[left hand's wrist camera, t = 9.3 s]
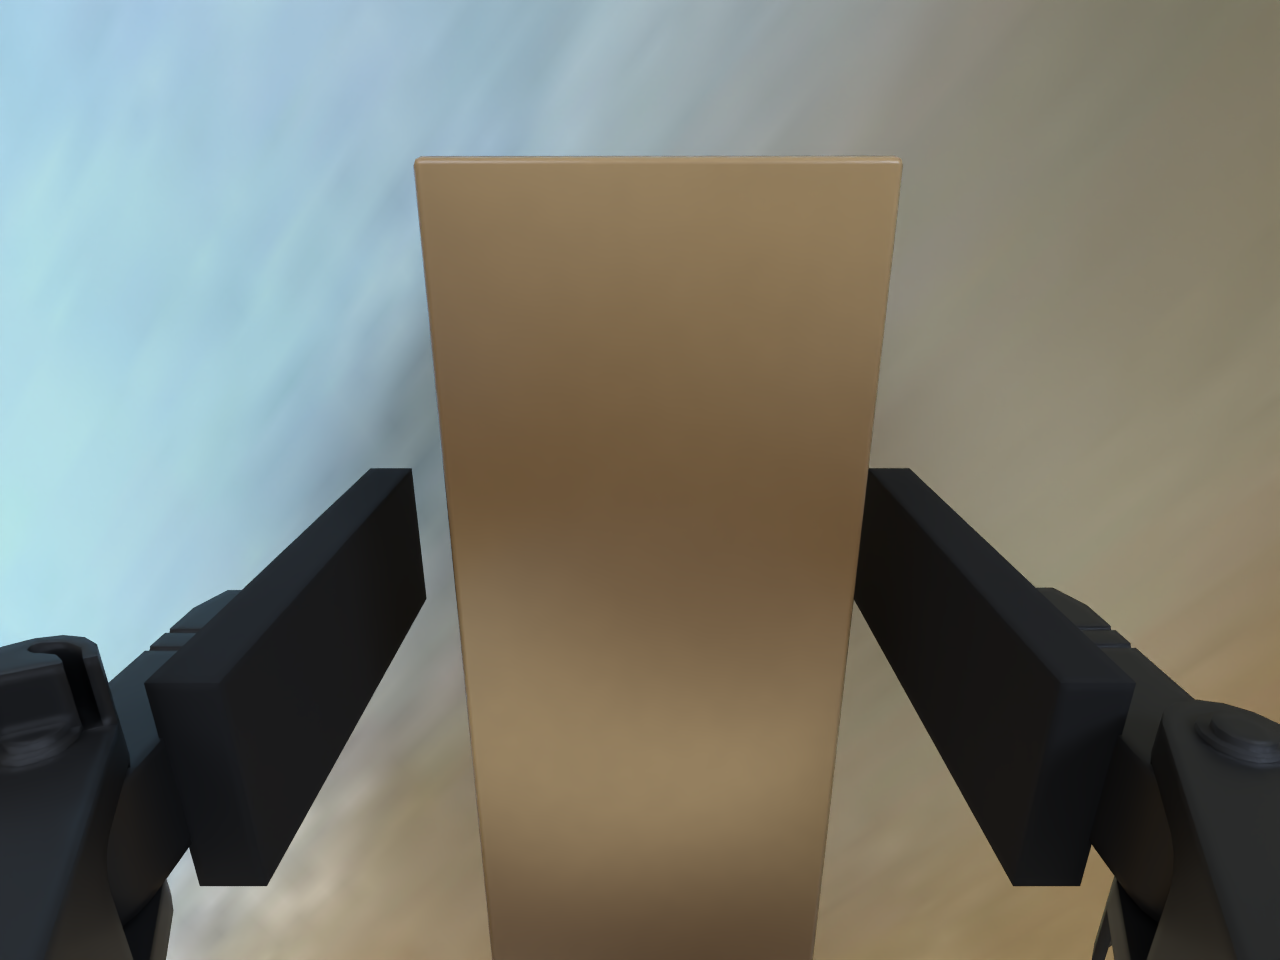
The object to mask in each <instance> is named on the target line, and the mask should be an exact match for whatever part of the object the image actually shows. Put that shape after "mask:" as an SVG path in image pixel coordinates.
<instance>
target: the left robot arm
mask: <svg viewBox="0 0 1280 960" xmlns="http://www.w3.org/2000/svg"><path fill="white" fill-rule="evenodd" d="M425 600H426V590H425V582H424V573H423V564H422V555H421V547H420V538H419V529H418V520H417V511H416V503H415V494H414V485H413V476H412V468H371V469H370V470H369V471H367V472H366V473H365V474H364V475H363V476H362V477H361V478H360V479H359V480H358V481H357V482H356V483H355V484H354V485H353V486H352V487H351V488H349V489H348V490H347V491H346V492H345V493H344V494H343V495H342V496H341V497H340V498H339V499H338V500H337V501H336V502H335V503H334V504H333V505H331V506H330V507H329V508H328V509H327V510H326V511H325V512H324V513H323V514H322V515H321V516H320V517H319V518H318V519H317V520H316V521H315V522H313V523H312V524H311V525H310V526H309V527H308V528H307V529H306V530H305V531H304V532H303V533H302V534H301V535H300V536H299V537H298V538H297V539H295V540H294V541H293V542H292V543H291V544H290V545H289V546H288V547H287V548H286V549H285V550H284V551H283V552H282V553H281V554H280V555H279V556H277V557H276V558H275V559H274V560H273V561H272V562H271V563H270V564H269V565H268V566H267V567H266V568H265V569H264V570H263V571H262V572H261V573H259V574H258V575H257V576H256V577H255V578H254V579H253V580H252V581H251V582H250V583H249V584H248V585H247V586H246V587H245V588H244V589H243V590H227V591H225V592H223V593H221V594H219V595H218V596H216V597H214V598H212V599H210V600H208V601H206V602H204V603H202V604H200V605H198V606H196V607H194V608H193V609H192V610H191V611H190V612H188V613H187V614H186V615H185V616H184V617H183V618H182V619H180V620H179V621H178V622H177V623H176V624H175V625H174V626H173V627H171V628H170V633H165V634H163V635H162V636H161V637H160V638H159V639H158V640H157V641H156V642H154V643H153V644H152V645H151V646H150V651H144V652H143V653H142V654H141V655H140V656H139V657H137V658H136V659H135V660H134V661H133V662H132V663H131V664H129V665H128V666H127V667H126V668H125V669H124V670H123V671H122V672H120V673H119V674H118V675H117V676H116V677H115V678H114V679H112V680H111V681H110V682H109V683H108V680H107V677H106V674H105V670H104V667H103V663H102V660H101V657H100V653H99V650H98V647H97V644H95V643H94V642H92V641H90V640H89V639H87V638H85V637H77V636H67V635H60V636H51V637H43V638H34V639H30V640H27V641H23V642H19V643H15V644H11V645H7V646H3V647H0V960H166V956H167V949H168V942H169V936H170V929H171V923H172V916H173V904H172V897H171V893H170V889H169V886H168V882H167V877H168V876H169V874H170V873H171V872H172V870H173V869H174V867H175V866H176V865H177V863H178V862H179V860H180V859H181V858H182V856H183V855H184V853H185V852H186V851H187V849H188V848H190V852H191V856H192V859H193V863H194V866H195V870H196V874H197V877H198V881H199V884H200V886H267V885H268V883H269V881H270V879H271V878H272V876H273V874H274V872H275V870H276V869H277V867H278V865H279V863H280V861H281V860H282V858H283V856H284V854H285V852H286V851H287V849H288V847H289V845H290V843H291V842H292V840H293V838H294V836H295V834H296V833H297V831H298V829H299V827H300V825H301V824H302V822H303V820H304V818H305V816H306V815H307V813H308V811H309V809H310V807H311V806H312V804H313V802H314V800H315V798H316V797H317V795H318V793H319V791H320V789H321V788H322V786H323V784H324V782H325V780H326V779H327V777H328V775H329V773H330V771H331V770H332V768H333V766H334V764H335V762H336V761H337V759H338V757H339V755H340V753H341V752H342V750H343V748H344V746H345V744H346V743H347V741H348V739H349V737H350V735H351V734H352V732H353V730H354V728H355V726H356V725H357V723H358V721H359V719H360V717H361V716H362V714H363V712H364V710H365V708H366V707H367V705H368V703H369V701H370V699H371V698H372V696H373V694H374V692H375V690H376V689H377V687H378V685H379V683H380V681H381V680H382V678H383V676H384V674H385V672H386V671H387V669H388V667H389V665H390V663H391V662H392V660H393V658H394V656H395V654H396V652H397V651H398V649H399V647H400V645H401V643H402V642H403V640H404V638H405V636H406V634H407V633H408V631H409V629H410V627H411V625H412V624H413V622H414V620H415V618H416V616H417V615H418V613H419V611H420V609H421V607H422V606H423V604H424V602H425ZM854 600H855V602H856V604H857V606H858V608H859V609H860V611H861V613H862V615H863V617H864V618H865V620H866V622H867V624H868V626H869V627H870V629H871V631H872V633H873V635H874V636H875V638H876V640H877V642H878V644H879V645H880V647H881V649H882V651H883V653H884V654H885V656H886V658H887V660H888V662H889V663H890V665H891V667H892V669H893V671H894V672H895V674H896V676H897V678H898V680H899V681H900V683H901V685H902V687H903V689H904V690H905V692H906V694H907V696H908V698H909V699H910V701H911V703H912V705H913V707H914V708H915V710H916V712H917V714H918V716H919V717H920V719H921V721H922V723H923V725H924V726H925V728H926V730H927V732H928V734H929V735H930V737H931V739H932V741H933V743H934V744H935V746H936V748H937V750H938V752H939V753H940V755H941V757H942V759H943V761H944V762H945V764H946V766H947V768H948V770H949V771H950V773H951V775H952V777H953V779H954V780H955V782H956V784H957V786H958V788H959V789H960V791H961V793H962V795H963V797H964V798H965V800H966V802H967V804H968V806H969V807H970V809H971V811H972V813H973V815H974V816H975V818H976V820H977V822H978V824H979V825H980V827H981V829H982V831H983V833H984V834H985V836H986V838H987V840H988V842H989V843H990V845H991V847H992V849H993V851H994V852H995V854H996V856H997V858H998V860H999V861H1000V863H1001V865H1002V867H1003V869H1004V870H1005V872H1006V874H1007V876H1008V878H1009V879H1010V881H1011V883H1012V885H1013V886H1080V884H1081V881H1082V877H1083V874H1084V870H1085V866H1086V863H1087V859H1088V856H1089V852H1090V848H1091V845H1093V847H1094V848H1095V849H1096V851H1097V852H1098V854H1099V855H1100V856H1101V858H1102V859H1103V861H1104V862H1105V863H1106V865H1107V866H1108V868H1109V869H1110V870H1111V872H1112V873H1113V874H1114V879H1113V882H1112V886H1111V889H1110V893H1109V896H1108V899H1107V903H1106V906H1105V909H1104V913H1103V916H1102V920H1101V923H1100V926H1099V930H1098V933H1097V936H1096V940H1095V943H1094V949H1093V955H1092V960H1105V957H1106V954H1107V951H1108V947H1110V946H1112V947H1113V953H1114V960H1280V724H1278V723H1276V722H1274V721H1272V720H1269V719H1267V718H1265V717H1263V716H1261V715H1259V714H1256V713H1254V712H1251V711H1248V710H1244V709H1241V708H1238V707H1234V706H1231V705H1227V704H1224V703H1217V702H1209V701H1202V700H1195V699H1193V698H1192V697H1191V696H1190V695H1189V694H1188V693H1187V692H1185V691H1184V690H1183V689H1182V688H1181V687H1180V686H1179V685H1177V684H1176V683H1175V682H1174V681H1173V680H1172V679H1171V678H1169V677H1168V676H1167V675H1166V674H1165V673H1164V672H1163V671H1161V670H1160V669H1159V668H1158V667H1157V666H1156V665H1155V664H1153V663H1152V662H1151V661H1150V660H1149V659H1148V658H1147V657H1145V656H1144V655H1143V654H1142V653H1141V652H1140V651H1139V650H1137V649H1136V648H1131V643H1129V642H1128V641H1127V640H1126V639H1125V638H1124V637H1123V636H1121V635H1120V634H1119V633H1118V632H1117V631H1116V630H1111V626H1110V625H1109V624H1108V623H1107V622H1105V621H1104V620H1103V619H1102V618H1101V617H1100V616H1099V615H1097V614H1096V613H1095V612H1094V611H1093V610H1092V609H1091V608H1089V607H1088V606H1087V605H1085V604H1083V603H1081V602H1080V601H1078V600H1076V599H1074V598H1072V597H1070V596H1068V595H1066V594H1064V593H1062V592H1060V591H1058V590H1056V589H1054V588H1035V587H1034V586H1033V585H1032V584H1031V583H1030V582H1029V581H1028V580H1027V579H1026V578H1025V577H1024V576H1023V575H1022V574H1020V573H1019V572H1018V571H1017V570H1016V569H1015V568H1014V567H1013V566H1012V565H1011V564H1010V563H1009V562H1008V561H1007V560H1006V559H1005V558H1004V557H1003V556H1001V555H1000V554H999V553H998V552H997V551H996V550H995V549H994V548H993V547H992V546H991V545H990V544H989V543H988V542H987V541H986V540H985V539H983V538H982V537H981V536H980V535H979V534H978V533H977V532H976V531H975V530H974V529H973V528H972V527H971V526H970V525H969V524H968V523H967V522H965V521H964V520H963V519H962V518H961V517H960V516H959V515H958V514H957V513H956V512H955V511H954V510H953V509H952V508H951V507H950V506H949V505H947V504H946V503H945V502H944V501H943V500H942V499H941V498H940V497H939V496H938V495H937V494H936V493H935V492H934V491H933V490H932V489H931V488H929V487H928V486H927V485H926V484H925V483H924V482H923V481H922V480H921V479H920V478H919V477H918V476H917V475H916V474H915V473H914V472H913V471H911V470H910V469H909V468H868V477H867V486H866V494H865V503H864V512H863V521H862V530H861V539H860V547H859V556H858V565H857V574H856V583H855V591H854Z"/></svg>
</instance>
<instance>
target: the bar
mask: <svg viewBox="0 0 1280 960" xmlns="http://www.w3.org/2000/svg"><path fill="white" fill-rule="evenodd" d="M902 168H903V164H902V160H901V158H899V157H897V156H421V157H419V158H417V159H415V162H414V175H415V186H416V196H417V206H418V216H419V226H420V236H421V246H422V256H423V266H424V276H425V286H426V297H427V307H428V317H429V327H430V337H431V347H432V357H433V367H434V377H435V387H436V397H437V408H438V418H439V428H440V438H441V448H442V458H443V468H444V478H445V488H446V498H447V508H448V519H449V529H450V539H451V549H452V559H453V569H454V579H455V589H456V599H457V609H458V619H459V630H460V640H461V650H462V660H463V670H464V680H465V690H466V700H467V710H468V720H469V731H470V741H471V751H472V761H473V771H474V781H475V791H476V801H477V811H478V821H479V831H480V842H481V852H482V862H483V872H484V882H485V892H486V902H487V912H488V922H489V932H490V942H491V953H492V960H813V953H814V944H815V935H816V927H817V918H818V909H819V900H820V891H821V882H822V874H823V865H824V856H825V847H826V838H827V830H828V821H829V812H830V803H831V794H832V785H833V777H834V768H835V759H836V750H837V741H838V733H839V724H840V715H841V706H842V697H843V688H844V680H845V671H846V662H847V653H848V644H849V636H850V627H851V618H852V609H853V600H854V591H855V583H856V574H857V565H858V556H859V547H860V539H861V530H862V521H863V512H864V503H865V494H866V486H867V477H868V468H869V459H870V450H871V442H872V433H873V424H874V415H875V406H876V397H877V389H878V380H879V371H880V362H881V353H882V345H883V336H884V327H885V318H886V309H887V300H888V292H889V283H890V274H891V265H892V256H893V248H894V239H895V230H896V221H897V212H898V203H899V195H900V186H901V177H902Z"/></svg>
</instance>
